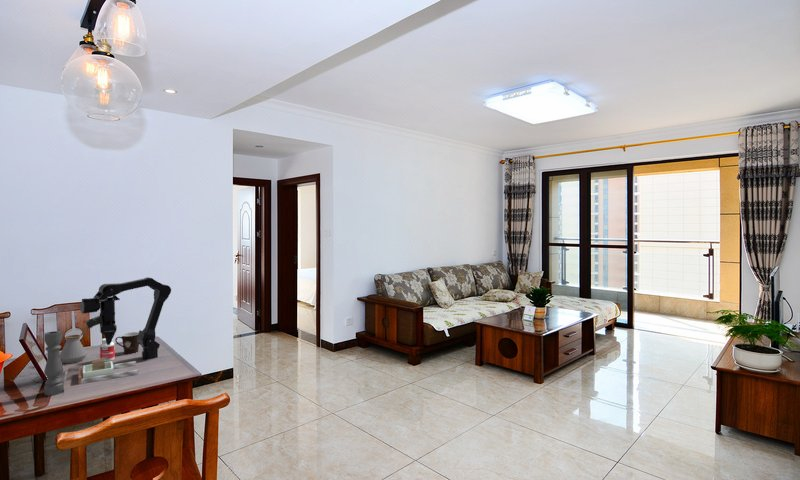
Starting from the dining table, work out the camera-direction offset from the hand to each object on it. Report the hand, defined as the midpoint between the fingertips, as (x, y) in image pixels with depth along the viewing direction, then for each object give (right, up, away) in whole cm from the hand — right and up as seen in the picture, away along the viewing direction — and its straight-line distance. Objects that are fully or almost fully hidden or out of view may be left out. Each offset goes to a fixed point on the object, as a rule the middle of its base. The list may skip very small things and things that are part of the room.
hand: (108, 342), depth 203 cm
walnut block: (+4, -11, -12) cm, 16 cm away
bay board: (+7, -13, -9) cm, 18 cm away
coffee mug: (-8, -12, +28) cm, 32 cm away
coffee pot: (-27, -13, +17) cm, 34 cm away
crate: (+4, -12, -12) cm, 17 cm away
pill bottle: (-10, -13, +14) cm, 22 cm away
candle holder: (-3, -14, -28) cm, 32 cm away
